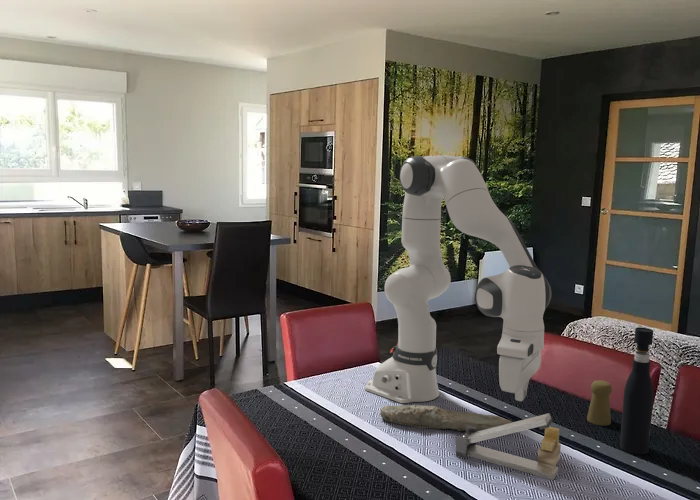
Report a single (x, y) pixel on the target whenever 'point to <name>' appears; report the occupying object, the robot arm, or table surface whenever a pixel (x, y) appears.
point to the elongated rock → (439, 418)
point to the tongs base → (503, 458)
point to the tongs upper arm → (509, 428)
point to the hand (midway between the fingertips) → (520, 398)
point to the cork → (600, 403)
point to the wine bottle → (638, 398)
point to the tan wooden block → (549, 455)
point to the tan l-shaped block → (550, 439)
